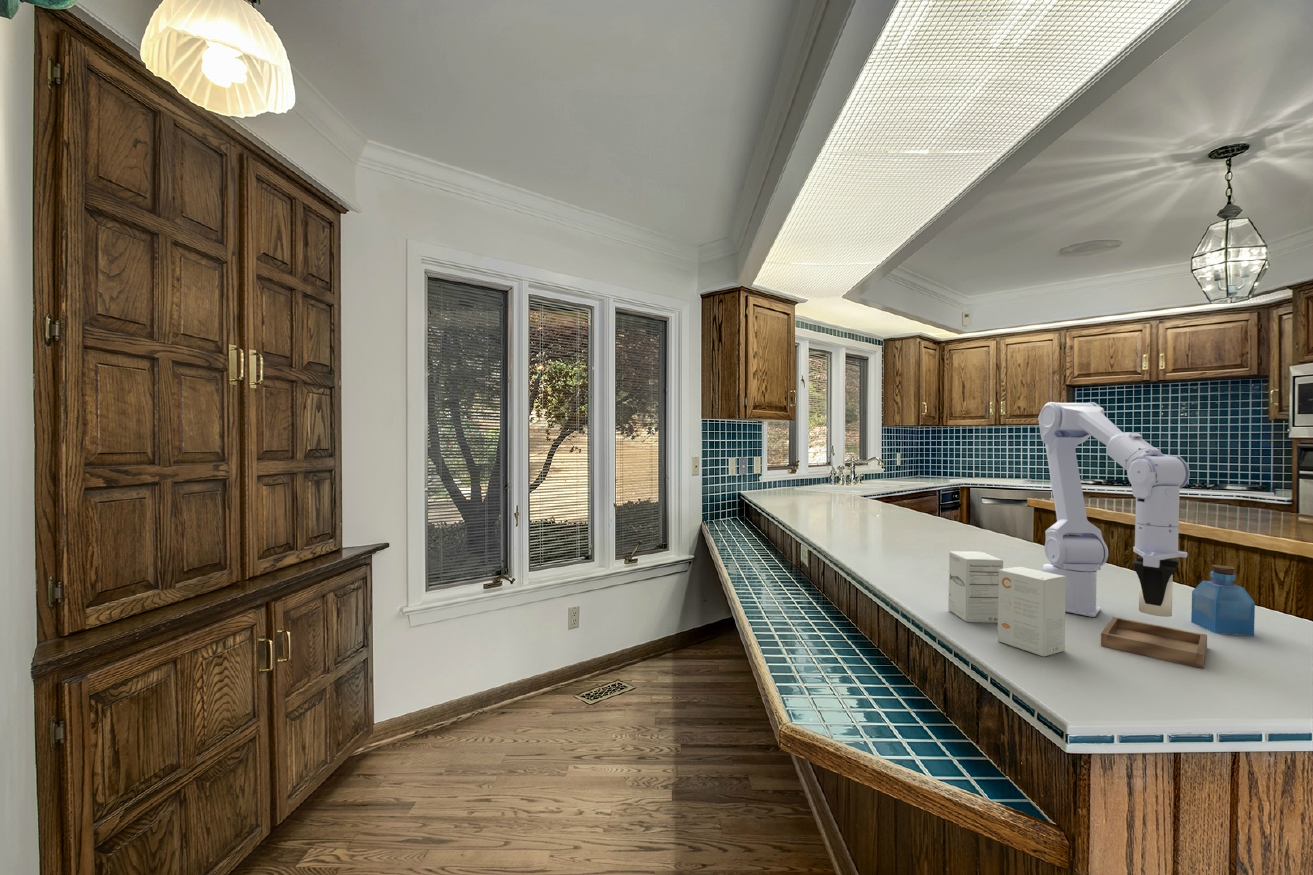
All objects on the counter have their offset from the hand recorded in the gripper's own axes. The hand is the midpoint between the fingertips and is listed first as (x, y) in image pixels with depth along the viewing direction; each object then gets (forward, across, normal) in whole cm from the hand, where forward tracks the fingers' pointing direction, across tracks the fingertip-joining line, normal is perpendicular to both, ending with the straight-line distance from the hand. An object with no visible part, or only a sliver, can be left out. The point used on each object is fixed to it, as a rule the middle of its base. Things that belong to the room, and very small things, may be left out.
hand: (1154, 601), depth 100 cm
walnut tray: (+8, 0, 0) cm, 8 cm away
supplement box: (+8, -6, +27) cm, 29 cm away
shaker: (+2, 0, 0) cm, 2 cm away
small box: (+8, -16, +15) cm, 23 cm away
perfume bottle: (+8, +22, -8) cm, 25 cm away
